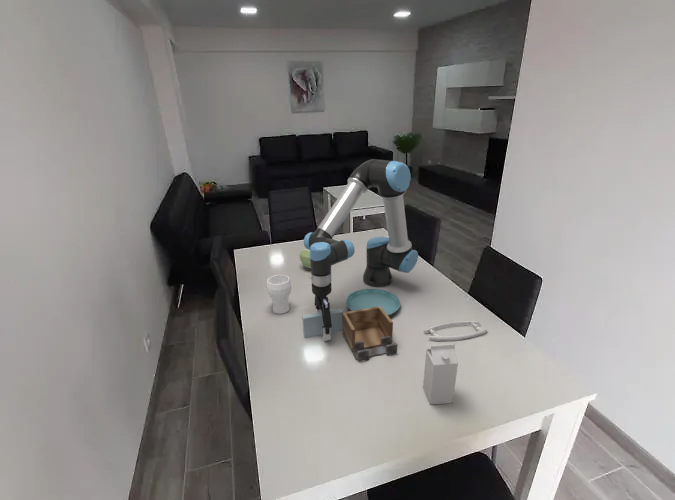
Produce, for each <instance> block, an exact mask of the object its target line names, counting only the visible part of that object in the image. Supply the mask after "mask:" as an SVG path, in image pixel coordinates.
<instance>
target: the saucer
mask: <svg viewBox="0 0 675 500" xmlns="http://www.w3.org/2000/svg"><path fill="white" fill-rule="evenodd" d="M345 303H346V306H347V308H348V309H349V311H355V310H361V309H366V308H372V307H378V306H381V307H382V309H383V310H384V311H385V312H386V314H387V315H388V316H389V317H391V316H392V315H394V314H395V313H396V312H397V311H398V310H399V309H400V306H401V300H400V299H399V298H398V296H397V295H395V294H394V293H393V292H390V291H388V290H384V289H381V288H362V289H358V290H355V291H354V292H351V293H350V294H349V295H348V296H347V297H346V299H345Z"/></svg>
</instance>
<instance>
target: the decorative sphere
mask: <svg viewBox="0 0 675 500" xmlns="http://www.w3.org/2000/svg"><path fill="white" fill-rule="evenodd" d="M299 252H300V253H299V260H300V262H301V264H302V265H303V266H304V267H305V268H307V269H310V270H311V263H310V250H308V249H307V248H306V247H305V246H304V245H303V246H302V247H301V250H300V251H299Z"/></svg>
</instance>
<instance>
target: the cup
mask: <svg viewBox="0 0 675 500" xmlns="http://www.w3.org/2000/svg"><path fill="white" fill-rule="evenodd" d="M266 291H267V294H268V296H269V297H270V298H271V301H272V312H273V313H275V314H278V315H279V314H280V315H281V314H285V313H287V312H289V311H290V309H291V308H290V302H289V297H290V294H291V291H292V282H291V280H290V277H289V276H288V275H285V274H276V275H272V276H270V277H268V278H267V282H266Z"/></svg>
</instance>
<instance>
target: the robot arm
mask: <svg viewBox="0 0 675 500" xmlns="http://www.w3.org/2000/svg"><path fill="white" fill-rule="evenodd" d="M410 182H411V172H410V168H409V167H408V165H407V164H405V163H404V162H402V161H397V160H386V159H385V160H384V159H377V158H372V159H369V160H366V161H365V162H363V163H361V164H360V165H359V166H358V167H356V168H355V169H354V170H353V172H352V173H351V174H350V176H349V177H348V179H347V184H346V185H345V187H344V188H343V190H342V191H341V193H340V194H339V196H338V197H337V199H336V200H335V202H334V203H333V205H332V206H331V208H329V210H328V212H327V213H326V215H325V217H324V218H323V219H322V221H321V222H320V223H319V225H318V227H317V228H316V229H315V231H314V232H312V231H311V232H308V233H307V234H306V235H304V239H303V246H305V247H306V248H307V249H308V250H310V263H311V269H310V276H309V279H310V280H311V292H312V294H313V295H314V306H315V309H316V310H315V313H319V312H322V318H323V324H324V326H322V328H323V335H322V337H323V338H322V339H323V341H324V342H326V341H330V340H331V338H332V337H331V334H332V333H331V332H330V328H332V323H331V315H330V310H331V303H330V301H329V297H328V296H329V294H331V293H332V292H333V291H332V289H333V288H332V266H334V265H336V264H339V263H341V262H344V261H347V260H348V259H350V258H352V257H353V256H354V254H355V252H356V250H355V244H354V243H353V242H352V240H349V239H342V240H336V239H333V238H334V237H335V235H336V234H337V232H338V230H339V229H340V227H341V226H342V224H343V223H344V221H345V219H346V218H347V217H348V215H349V214H350V213H351V211H352V210H353V208H354V207H355V206H356V204H357V202H358V200H359V199H360V197H361V196H362V194H366V193H367V191H368V189H370V188H377V190H378V191H377V192H378V196H379V197H380V198H381V199H382V201H383V207H384V214H385V221H386V228H387V236H376V237H372V238H369V239H368V240H367V242H366V267H365V270H364V272H363V276H362V281H363V283H364V284H366V285H368V286H370V287H376V288H382V287H383V288H384V287H387V286H390V284H392V283H393V275H392V271H391V269H393V270H396V271H398V272H400V273H404V274H407V273H410V272H411V271H413V270H414V268H415V266H416V264H417V262H418V260H419V259H418V258H419V253H418V251H417V250H416V249H413V247H412V246H413V245H412V241H410V240H409V237H408V229H407V219H406V212H405V202H404V195H405V193H406V192H407V189H409V187H410V184H411V183H410Z"/></svg>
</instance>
